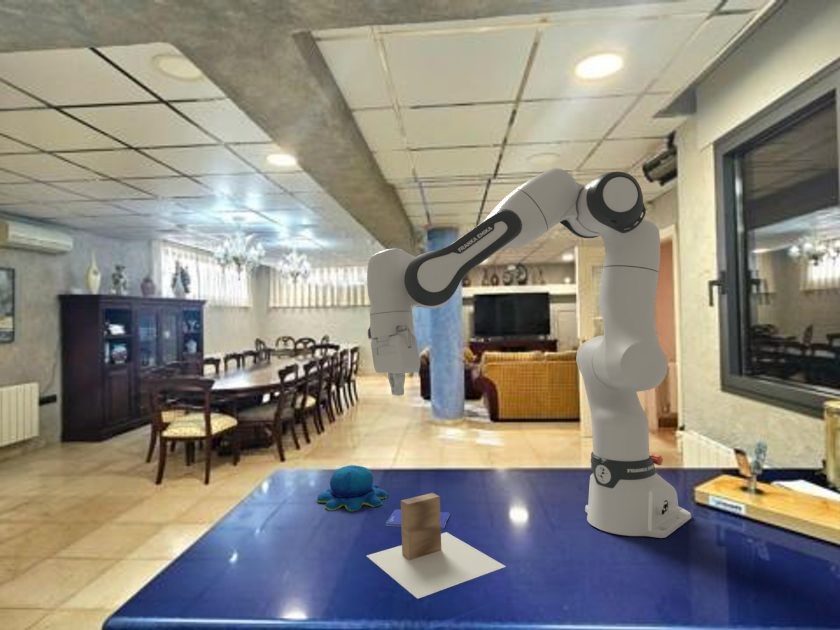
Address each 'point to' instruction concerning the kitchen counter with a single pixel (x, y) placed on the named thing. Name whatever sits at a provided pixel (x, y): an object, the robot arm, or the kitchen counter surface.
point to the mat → (435, 566)
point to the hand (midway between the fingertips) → (397, 395)
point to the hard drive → (396, 519)
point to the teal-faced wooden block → (420, 526)
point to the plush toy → (352, 489)
